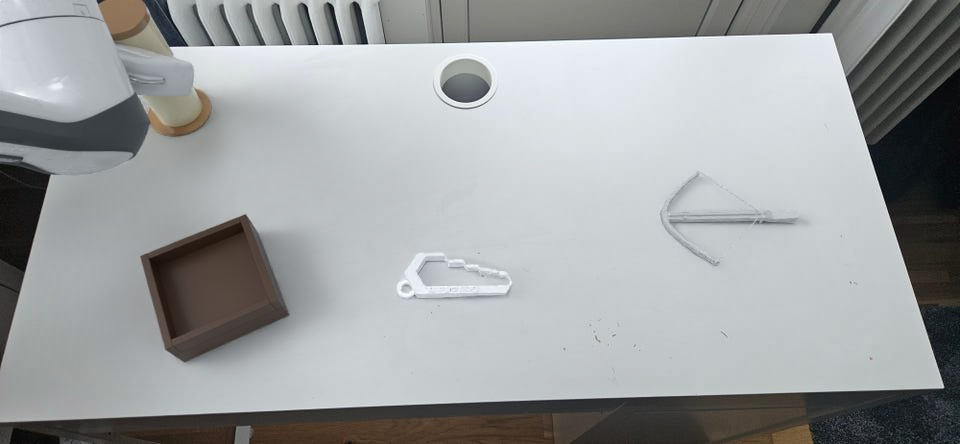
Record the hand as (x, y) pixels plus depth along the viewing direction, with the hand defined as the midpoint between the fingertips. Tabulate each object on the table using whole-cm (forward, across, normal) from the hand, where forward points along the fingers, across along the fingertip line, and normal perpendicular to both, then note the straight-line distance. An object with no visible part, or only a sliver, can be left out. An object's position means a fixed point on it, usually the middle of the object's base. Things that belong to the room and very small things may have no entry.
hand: (150, 58), depth 71 cm
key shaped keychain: (-1, -43, +14) cm, 45 cm away
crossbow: (+12, -71, +2) cm, 72 cm away
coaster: (+6, 0, +7) cm, 9 cm away
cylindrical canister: (+6, 0, +7) cm, 9 cm away
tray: (-9, -19, +22) cm, 30 cm away
